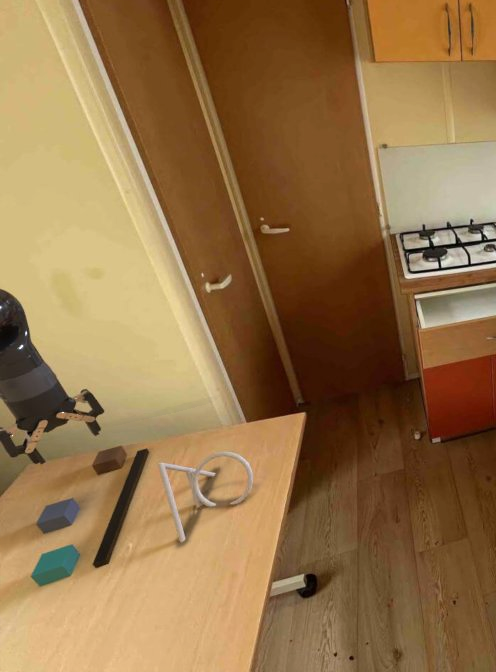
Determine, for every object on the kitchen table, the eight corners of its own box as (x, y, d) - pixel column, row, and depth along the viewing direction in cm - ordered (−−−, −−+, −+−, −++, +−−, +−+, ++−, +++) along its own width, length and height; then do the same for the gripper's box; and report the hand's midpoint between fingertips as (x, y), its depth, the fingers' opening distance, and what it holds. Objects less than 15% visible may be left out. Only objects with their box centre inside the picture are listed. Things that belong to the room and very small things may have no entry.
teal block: (42, 590, 79) (30, 576, 77) (53, 567, 83) (41, 553, 81) (73, 579, 81) (62, 565, 79) (83, 557, 85) (72, 543, 82)
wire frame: (279, 492, 103) (245, 526, 87) (224, 510, 102) (180, 548, 86) (259, 422, 103) (221, 443, 88) (204, 439, 102) (156, 463, 86)
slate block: (46, 537, 88) (35, 524, 86) (56, 519, 92) (45, 505, 90) (74, 528, 90) (64, 515, 88) (82, 510, 93) (73, 497, 91)
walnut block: (100, 478, 101) (91, 465, 99) (106, 464, 104) (98, 451, 102) (123, 471, 103) (115, 458, 100) (129, 458, 106) (121, 445, 104)
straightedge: (98, 571, 82) (92, 564, 81) (141, 457, 106) (137, 450, 105) (111, 567, 83) (105, 559, 82) (151, 455, 107) (147, 448, 106)
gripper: (70, 361, 88) (104, 419, 95) (-32, 402, 77) (16, 464, 84) (85, 373, 84) (119, 432, 92) (-20, 417, 73) (28, 480, 81)
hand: (69, 447), depth 88 cm, fingers open, 8 cm apart
